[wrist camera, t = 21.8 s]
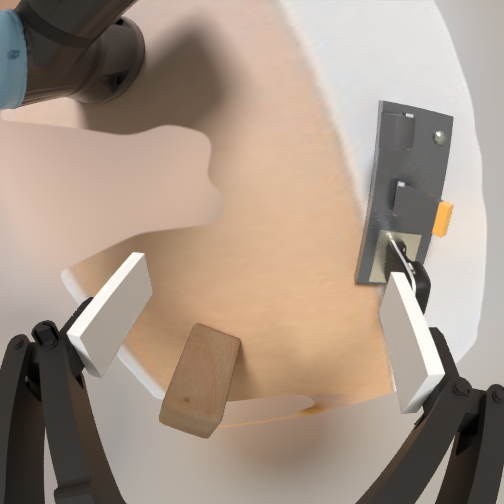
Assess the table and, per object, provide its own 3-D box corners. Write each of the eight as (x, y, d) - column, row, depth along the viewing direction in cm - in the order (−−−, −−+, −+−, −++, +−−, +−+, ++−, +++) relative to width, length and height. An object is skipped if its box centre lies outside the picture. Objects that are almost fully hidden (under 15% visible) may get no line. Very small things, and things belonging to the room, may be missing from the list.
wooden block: (195, 320, 58) (162, 402, 41) (242, 337, 58) (221, 423, 41) (186, 348, 63) (156, 423, 46) (228, 364, 63) (208, 441, 46)
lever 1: (401, 147, 34) (377, 151, 29) (404, 112, 32) (381, 108, 26) (413, 150, 33) (392, 154, 28) (417, 115, 30) (396, 111, 25)
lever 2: (389, 214, 38) (439, 240, 32) (395, 181, 35) (449, 204, 29) (396, 212, 39) (445, 236, 32) (401, 180, 36) (454, 202, 30)
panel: (354, 275, 47) (356, 283, 45) (379, 100, 33) (383, 100, 31) (412, 278, 46) (416, 287, 44) (447, 115, 32) (454, 117, 30)
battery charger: (405, 276, 43) (426, 324, 34) (383, 278, 44) (400, 327, 34) (409, 238, 40) (436, 282, 30) (387, 239, 41) (409, 284, 31)
